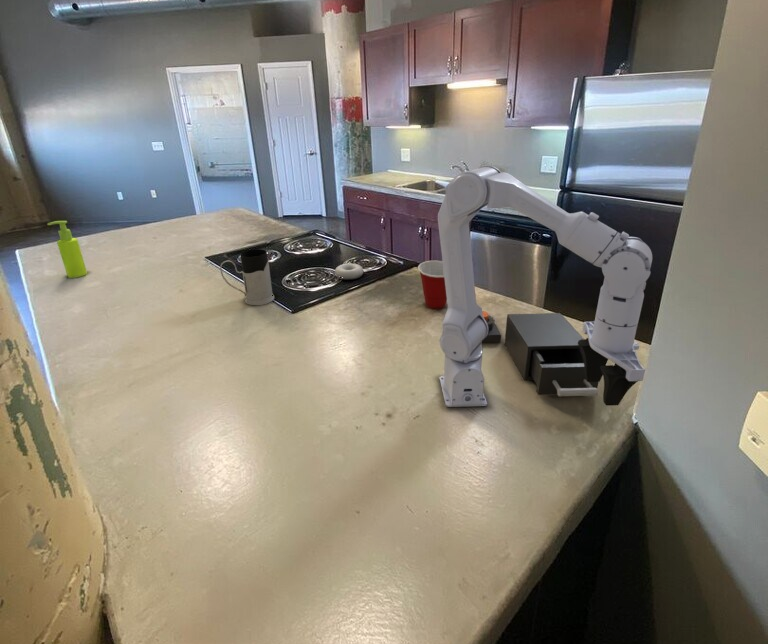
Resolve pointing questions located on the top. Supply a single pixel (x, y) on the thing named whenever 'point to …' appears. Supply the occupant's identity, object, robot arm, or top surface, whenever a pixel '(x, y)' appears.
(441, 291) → the plastic cup
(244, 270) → the silver mug
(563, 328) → the grey drawer box
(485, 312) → the button
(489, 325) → the control block
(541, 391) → the drawer
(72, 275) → the soap dispenser
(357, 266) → the donut
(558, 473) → the top surface
